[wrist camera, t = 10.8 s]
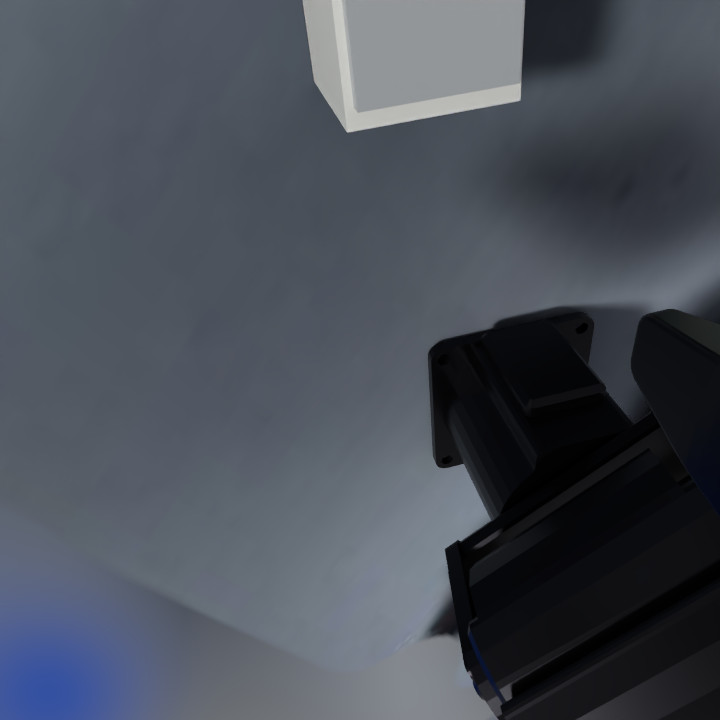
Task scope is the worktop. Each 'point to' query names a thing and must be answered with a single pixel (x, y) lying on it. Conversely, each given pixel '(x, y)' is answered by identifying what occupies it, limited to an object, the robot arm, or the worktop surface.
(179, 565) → the worktop surface
